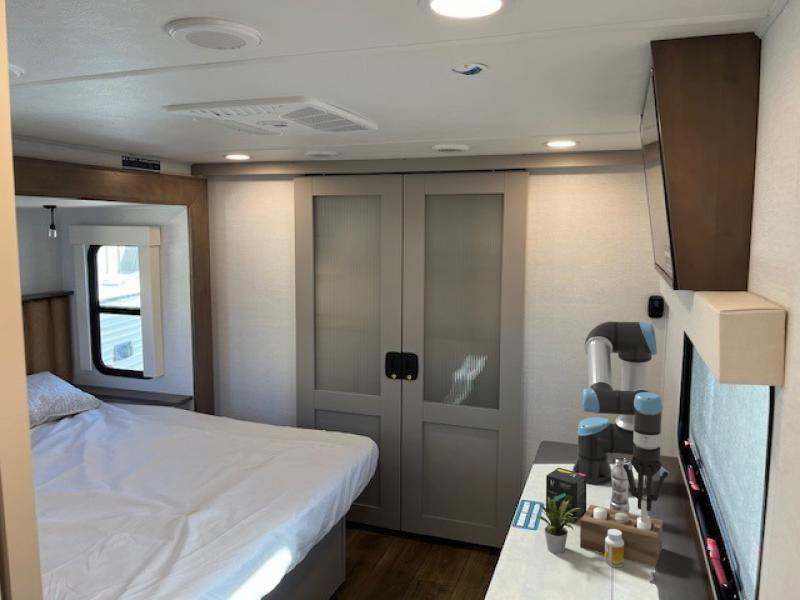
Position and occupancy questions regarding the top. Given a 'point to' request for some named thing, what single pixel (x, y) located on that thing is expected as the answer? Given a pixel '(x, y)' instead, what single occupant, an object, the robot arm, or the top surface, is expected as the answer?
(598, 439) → the robot arm
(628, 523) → the wooden holder rack
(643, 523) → the knob
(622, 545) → the supplement bottle
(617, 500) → the plastic bottle
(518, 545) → the top surface
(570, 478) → the tampon box
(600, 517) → the knob
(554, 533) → the house plant
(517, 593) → the top surface
